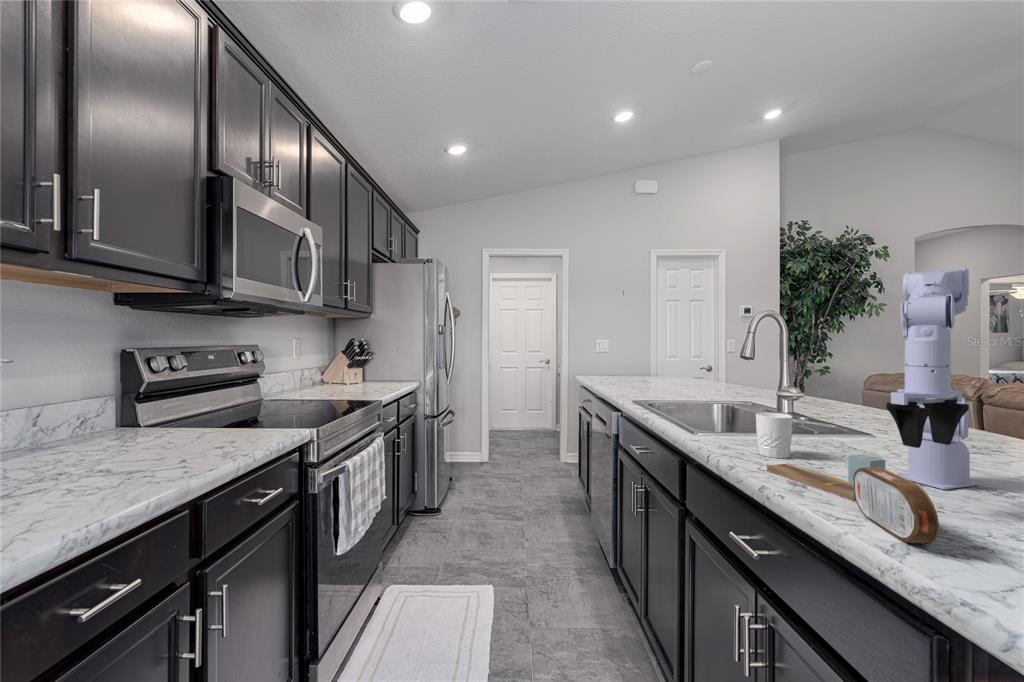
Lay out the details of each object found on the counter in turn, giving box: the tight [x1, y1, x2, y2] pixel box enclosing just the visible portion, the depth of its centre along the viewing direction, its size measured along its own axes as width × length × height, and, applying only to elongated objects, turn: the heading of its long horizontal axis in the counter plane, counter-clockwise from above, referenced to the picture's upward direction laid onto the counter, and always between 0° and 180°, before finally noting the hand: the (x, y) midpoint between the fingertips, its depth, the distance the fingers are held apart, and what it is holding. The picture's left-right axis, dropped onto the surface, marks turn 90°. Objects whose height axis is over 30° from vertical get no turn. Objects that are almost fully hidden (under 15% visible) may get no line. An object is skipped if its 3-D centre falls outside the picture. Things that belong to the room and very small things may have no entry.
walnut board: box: [766, 463, 856, 502], centre depth 85 cm, size 6×18×1 cm, turn 16°
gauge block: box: [847, 454, 886, 483], centre depth 84 cm, size 4×4×6 cm
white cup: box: [755, 412, 794, 459], centre depth 106 cm, size 8×8×10 cm
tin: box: [853, 467, 940, 545], centre depth 64 cm, size 15×3×8 cm, turn 168°
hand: (926, 445), depth 74 cm, fingers open, 7 cm apart
